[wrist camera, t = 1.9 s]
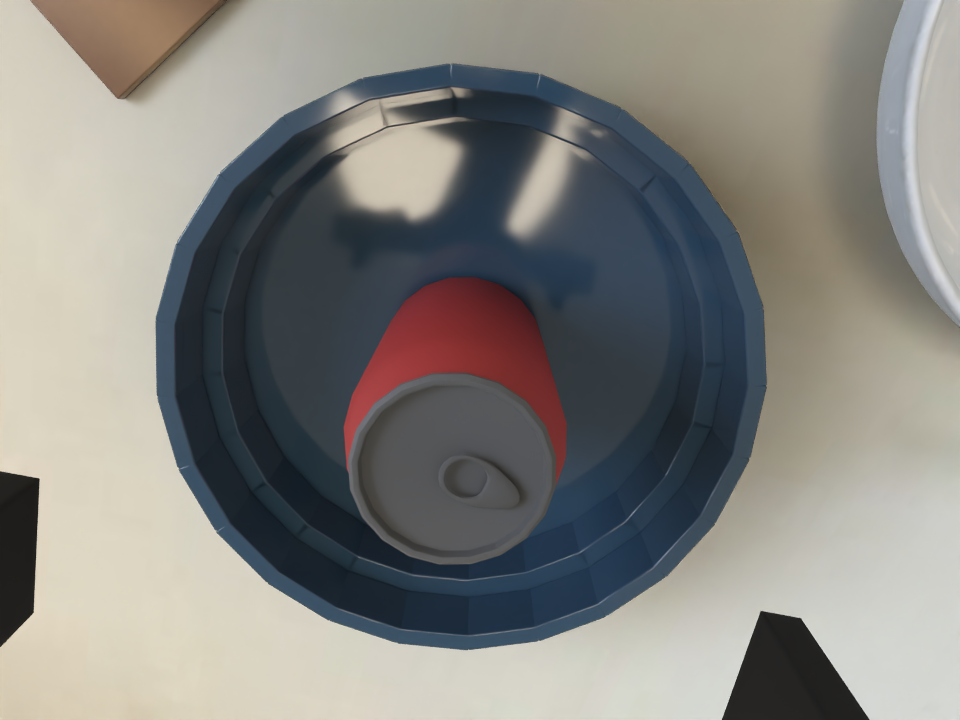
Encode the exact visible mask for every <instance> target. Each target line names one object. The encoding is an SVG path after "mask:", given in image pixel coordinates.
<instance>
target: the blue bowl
mask: <svg viewBox="0 0 960 720" xmlns="http://www.w3.org/2000/svg"><path fill="white" fill-rule="evenodd" d="M688 163H689V162H688V161H687V160H686V159H685V158H683V157H682V156H681V155H680V154H678V153H677V152H676V151H675V150H673V149H672V148H671V147H670V146H669V145H667V144H666V143H665V142H664V141H662V140H661V139H660V138H659V137H657V136H656V135H655V134H654V133H652V132H651V131H650V130H649V129H647V128H646V127H645V126H644V125H642V124H641V123H640V122H639V121H637V120H636V119H635V118H634V117H633V116H631V115H630V114H629V113H628V112H626V111H625V110H623V109H621V108H620V107H618V106H616V105H614V104H611V103H609V102H606V101H604V100H602V99H599V98H597V97H594V96H592V95H590V94H587V93H585V92H583V91H580V90H578V89H575V88H573V87H571V86H568V85H566V84H563V83H561V82H559V81H556V80H554V79H552V78H549V77H547V76H544V75H539V74H538V73H530V72H522V71H513V70H504V69H496V68H487V67H479V66H470V65H462V64H451V65H450V64H443V65H437V66H431V67H425V68H418V69H412V70H406V71H400V72H394V73H388V74H382V75H376V76H370V77H364V78H363V79H358V80H356V81H354V82H352V83H350V84H348V85H346V86H344V87H342V88H340V89H338V90H335V91H333V92H331V93H329V94H327V95H325V96H323V97H321V98H319V99H317V100H315V101H313V102H310V103H308V104H306V105H304V106H302V107H300V108H298V109H296V110H294V111H292V112H290V113H288V114H285V115H284V116H283V117H281V118H280V119H279V120H277V121H276V122H275V123H274V124H273V125H272V126H271V127H270V128H269V129H267V130H266V131H265V132H264V133H263V134H262V135H261V136H260V137H259V138H257V139H256V140H255V141H254V142H253V143H252V144H251V145H250V146H249V147H247V148H246V149H245V150H244V151H243V152H242V153H241V154H240V155H239V156H237V157H236V158H235V159H234V160H233V161H232V162H231V163H230V164H229V165H227V166H226V167H225V168H224V169H223V170H222V171H221V172H220V174H219V175H218V176H217V178H216V179H215V181H214V182H213V184H212V186H211V187H210V189H209V191H208V192H207V194H206V195H205V197H204V199H203V200H202V202H201V204H200V205H199V207H198V209H197V210H196V212H195V213H194V215H193V217H192V218H191V220H190V222H189V223H188V225H187V226H186V228H185V230H184V231H183V233H182V235H181V236H180V238H179V239H178V241H177V244H176V245H175V249H174V253H173V257H172V260H171V264H170V268H169V271H168V275H167V279H166V282H165V286H164V290H163V293H162V297H161V301H160V305H159V308H158V312H157V316H156V378H157V396H158V402H159V405H160V409H161V412H162V416H163V419H164V422H165V426H166V429H167V433H168V436H169V440H170V443H171V446H172V450H173V453H174V457H175V460H176V463H177V467H178V468H179V471H180V473H181V474H182V476H183V478H184V479H185V481H186V483H187V484H188V486H189V488H190V489H191V491H192V493H193V494H194V496H195V498H196V499H197V501H198V503H199V504H200V506H201V508H202V509H203V511H204V513H205V514H206V516H207V517H208V519H209V521H210V522H211V524H212V526H213V527H214V529H215V530H216V531H217V533H218V534H219V535H220V536H221V537H222V538H223V539H224V540H225V541H226V542H227V543H228V544H229V545H230V546H231V547H232V548H233V549H234V550H235V551H236V552H237V553H238V554H239V555H240V556H241V557H242V558H243V559H244V560H245V561H246V562H247V563H248V564H249V565H250V566H251V567H252V568H253V569H254V570H255V571H256V572H257V573H258V574H259V575H260V576H261V577H262V578H263V579H264V580H265V581H266V582H268V584H269V585H271V586H273V587H274V588H276V589H278V590H279V591H281V592H283V593H284V594H286V595H288V596H289V597H291V598H292V599H294V600H296V601H297V602H299V603H301V604H302V605H304V606H306V607H307V608H309V609H310V610H312V611H314V612H315V613H317V614H319V615H320V616H322V617H324V618H325V619H327V620H330V621H332V622H335V623H338V624H341V625H344V626H347V627H350V628H353V629H356V630H359V631H362V632H365V633H368V634H371V635H374V636H377V637H380V638H383V639H386V640H389V641H392V642H395V643H398V644H409V645H419V646H429V647H439V648H450V649H460V650H468V649H469V650H473V649H481V648H489V647H497V646H505V645H513V644H521V643H528V642H536V641H541V640H544V639H547V638H549V637H552V636H555V635H558V634H560V633H563V632H566V631H568V630H571V629H574V628H577V627H579V626H582V625H585V624H588V623H590V622H593V621H596V620H599V619H601V618H604V617H606V616H607V615H609V614H611V613H612V612H614V611H615V610H617V609H618V608H620V607H621V606H623V605H624V604H626V603H627V602H629V601H630V600H632V599H633V598H635V597H636V596H638V595H639V594H641V593H642V592H644V591H645V590H647V589H648V588H650V587H652V586H653V585H655V584H656V583H658V582H659V581H661V580H662V579H664V578H665V576H668V575H669V573H670V572H671V571H672V570H673V569H674V568H675V567H676V566H677V565H678V564H679V563H680V562H681V560H682V559H683V558H684V557H685V556H686V555H687V554H688V553H689V552H690V551H691V550H692V549H693V547H694V546H695V545H696V544H697V543H698V542H699V541H700V540H701V539H702V538H703V537H704V536H705V534H706V533H707V532H708V531H709V530H710V529H711V528H712V527H713V526H714V524H715V522H716V521H717V519H718V518H719V516H720V514H721V512H722V510H723V508H724V506H725V505H726V503H727V501H728V499H729V497H730V495H731V493H732V491H733V490H734V488H735V486H736V484H737V482H738V480H739V478H740V477H741V475H742V473H743V471H744V469H745V467H746V465H747V464H748V462H749V458H750V457H751V452H752V448H753V444H754V439H755V435H756V431H757V426H758V422H759V418H760V414H761V409H762V405H763V401H764V396H765V392H766V388H767V387H766V385H767V373H766V351H765V330H764V310H763V304H762V301H761V298H760V295H759V292H758V289H757V286H756V283H755V280H754V277H753V275H752V272H751V269H750V266H749V263H748V260H747V257H746V254H745V251H744V248H743V245H742V242H741V239H740V236H739V233H738V232H736V228H735V227H734V225H733V224H732V222H731V221H730V220H729V218H728V217H727V215H726V214H725V212H724V211H723V210H722V208H721V207H720V205H719V204H718V202H717V201H716V200H715V198H714V197H713V195H712V194H711V192H710V191H709V190H708V188H707V187H706V185H705V184H704V182H703V181H702V179H701V178H700V177H699V175H698V174H697V172H696V171H695V169H694V168H693V167H692V165H691V164H688ZM449 277H476V278H480V279H483V280H486V281H489V282H493V283H496V284H499V285H501V286H502V287H504V288H505V289H507V290H508V291H510V292H511V293H512V294H514V295H515V296H517V297H518V298H520V299H521V301H522V302H523V303H524V305H525V306H526V307H527V308H528V310H529V311H530V312H531V314H532V315H533V316H534V318H535V319H536V322H537V325H538V328H539V331H540V334H541V337H542V340H543V343H544V347H545V350H546V354H547V357H548V361H549V364H550V368H551V371H552V375H553V378H554V381H555V385H556V388H557V392H558V395H559V399H560V402H561V406H562V409H563V413H564V416H565V420H566V423H567V431H566V458H565V462H564V465H563V468H562V471H561V474H560V476H559V479H558V482H557V484H556V488H555V490H554V493H553V496H552V499H551V501H550V504H549V507H548V509H547V512H546V515H545V516H544V517H543V518H542V520H541V521H540V522H539V523H538V525H537V526H536V527H535V528H534V530H533V531H532V532H531V533H530V535H529V536H528V537H527V538H526V539H525V540H523V541H522V542H520V543H519V544H517V545H516V546H514V547H513V548H511V549H509V550H508V551H506V552H505V553H503V554H502V555H500V556H496V557H493V558H490V559H487V560H483V561H480V562H477V563H473V564H445V565H439V564H435V563H432V562H428V561H424V560H421V559H417V558H413V557H410V556H408V555H406V554H404V553H403V552H401V551H399V550H398V549H396V548H395V547H393V546H391V545H390V544H388V543H386V542H385V541H383V540H382V539H381V538H380V537H379V536H378V535H377V533H376V532H375V531H374V530H373V529H372V528H371V527H370V526H369V524H368V523H367V522H366V521H365V520H364V519H363V518H362V516H361V514H360V511H359V509H358V507H357V504H356V502H355V500H354V497H353V495H352V493H351V491H350V482H349V472H348V470H347V464H346V451H345V438H344V424H345V420H346V416H347V412H348V409H349V405H350V401H351V398H352V394H353V392H354V391H355V389H356V387H357V385H358V383H359V381H360V379H361V377H362V375H363V373H364V371H365V370H366V368H367V366H368V364H369V362H370V360H371V358H372V356H373V354H374V352H375V350H376V349H377V347H378V345H379V343H380V341H381V339H382V337H383V335H384V333H385V331H386V329H387V328H388V326H389V324H390V322H391V320H392V319H393V317H394V316H395V314H396V313H397V311H398V310H399V309H400V307H401V306H402V304H403V303H404V301H405V300H407V299H408V298H409V297H411V296H412V295H413V294H415V293H416V292H417V291H419V290H420V289H421V288H423V287H424V286H426V285H429V284H431V283H434V282H437V281H440V280H443V279H446V278H449Z"/></svg>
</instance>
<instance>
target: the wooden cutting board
mask: <svg viewBox="0 0 960 720" xmlns="http://www.w3.org/2000/svg"><path fill="white" fill-rule="evenodd" d="M30 1H31V2H32V3H33V4H34V5H35V6H36V7H37V9H38V10H39V11H40V12H41V13H42V14H43V15H44V17H45V18H46V19H47V20H48V21H49V22H50V23H51V24H52V26H53V27H54V28H55V29H56V30H57V31H58V32H59V33H60V35H61V36H62V37H63V38H64V39H65V40H66V41H67V42H68V44H69V45H70V46H71V47H72V48H73V49H74V50H75V51H76V53H77V54H78V55H79V56H80V57H81V58H82V59H83V61H84V62H85V63H86V64H87V65H88V66H89V67H90V68H91V70H92V71H93V72H94V73H95V74H96V75H97V76H98V77H99V79H100V80H101V81H102V82H103V83H104V84H105V85H106V86H107V88H108V89H109V90H110V91H111V92H112V93H113V94H114V96H115V97H116V98H117V99H124V98H125V97H126V96H127V95H129V94H130V93H131V92H132V91H133V90H134V89H135V88H136V87H137V86H138V85H139V84H140V83H141V82H142V81H143V80H144V79H145V78H146V77H147V76H148V75H149V74H150V73H151V72H153V71H154V70H155V69H156V68H157V67H158V66H159V65H160V64H161V63H162V62H163V61H164V60H165V59H166V58H167V57H168V56H169V55H170V54H171V53H172V52H173V51H174V50H176V49H177V48H178V47H179V46H180V45H181V44H182V43H183V42H184V41H185V40H186V39H187V38H188V37H189V36H190V35H191V34H192V33H193V32H194V31H195V30H196V29H197V28H198V27H200V26H201V25H202V24H203V23H204V22H205V21H206V20H207V19H208V18H209V17H210V16H211V15H212V14H213V13H214V12H215V11H216V10H217V9H218V8H219V7H220V6H221V5H223V4H224V3H225V2H226V1H227V0H30Z"/></svg>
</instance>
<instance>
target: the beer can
mask: <svg viewBox="0 0 960 720" xmlns="http://www.w3.org/2000/svg"><path fill="white" fill-rule="evenodd" d="M566 431H567V423H566V420H565V416H564V413H563V409H562V406H561V402H560V399H559V395H558V392H557V388H556V385H555V381H554V378H553V375H552V371H551V368H550V364H549V361H548V357H547V354H546V350H545V347H544V343H543V340H542V337H541V334H540V331H539V328H538V325H537V322H536V319H535V318H534V316H533V315H532V314H531V312H530V311H529V310H528V308H527V307H526V306H525V305H524V303H523V302H522V301H521V299H520V298H518V297H517V296H515V295H514V294H512V293H511V292H510V291H508V290H507V289H505V288H504V287H502V286H501V285H499V284H496V283H493V282H489V281H486V280H483V279H480V278H476V277H449V278H446V279H443V280H440V281H437V282H434V283H431V284H429V285H426V286H424V287H423V288H421V289H420V290H419V291H417V292H416V293H415V294H413V295H412V296H411V297H409V298H408V299H407V300H405V301H404V303H403V304H402V306H401V307H400V309H399V310H398V311H397V313H396V314H395V316H394V317H393V319H392V320H391V322H390V324H389V326H388V328H387V329H386V331H385V333H384V335H383V337H382V339H381V341H380V343H379V345H378V347H377V349H376V350H375V352H374V354H373V356H372V358H371V360H370V362H369V364H368V366H367V368H366V370H365V371H364V373H363V375H362V377H361V379H360V381H359V383H358V385H357V387H356V389H355V391H354V392H353V394H352V398H351V401H350V405H349V409H348V412H347V416H346V420H345V424H344V438H345V451H346V464H347V470H348V472H349V482H350V491H351V493H352V495H353V497H354V500H355V502H356V504H357V507H358V509H359V511H360V514H361V516H362V518H363V519H364V520H365V521H366V522H367V523H368V524H369V526H370V527H371V528H372V529H373V530H374V531H375V532H376V533H377V535H378V536H379V537H380V538H381V539H382V540H383V541H385V542H386V543H388V544H390V545H391V546H393V547H395V548H396V549H398V550H399V551H401V552H403V553H404V554H406V555H408V556H410V557H413V558H417V559H421V560H424V561H428V562H432V563H435V564H439V565H445V564H473V563H477V562H480V561H483V560H487V559H490V558H493V557H496V556H500V555H502V554H503V553H505V552H506V551H508V550H509V549H511V548H513V547H514V546H516V545H517V544H519V543H520V542H522V541H523V540H525V539H526V538H527V537H528V536H529V535H530V533H531V532H532V531H533V530H534V528H535V527H536V526H537V525H538V523H539V522H540V521H541V520H542V518H543V517H544V516H545V515H546V512H547V509H548V507H549V504H550V501H551V499H552V496H553V493H554V490H555V488H556V484H557V482H558V479H559V476H560V474H561V471H562V468H563V465H564V462H565V458H566Z"/></svg>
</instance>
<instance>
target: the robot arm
mask: <svg viewBox="0 0 960 720" xmlns="http://www.w3.org/2000/svg"><path fill="white" fill-rule="evenodd" d="M38 500H39V478H33V477H28V476H22V475H17V474H11V473H6V472H1V471H0V647H1V646H2V645H3V644H4V643H5V642H6V641H7V640H8V639H9V638H10V637H11V636H12V635H13V633H14V632H15V631H16V630H17V629H18V628H19V627H20V626H21V625H22V624H23V623H24V622H25V621H26V620H27V619H28V618H29V617H30V616H31V615H32V614H33V613H34V590H35V568H36V545H37V523H38ZM722 720H869V718H868V717H867V715H866V714H865V712H864V711H863V709H862V708H861V707H860V705H859V704H858V702H857V701H856V699H855V698H854V696H853V695H852V693H851V692H850V690H849V689H848V687H847V686H846V684H845V683H844V681H843V680H842V678H841V677H840V676H839V674H838V673H837V671H836V670H835V668H834V667H833V665H832V664H831V662H830V661H829V659H828V658H827V656H826V655H825V653H824V652H823V650H822V649H821V647H820V646H819V645H818V643H817V642H816V640H815V639H814V637H813V636H812V634H811V633H810V631H809V630H808V628H807V627H806V625H805V624H804V622H803V621H802V619H801V618H796V617H791V616H785V615H780V614H774V613H769V612H764V611H761V612H760V615H759V618H758V620H757V623H756V626H755V629H754V632H753V634H752V637H751V640H750V643H749V646H748V648H747V651H746V654H745V657H744V660H743V662H742V665H741V668H740V671H739V674H738V676H737V679H736V682H735V685H734V688H733V690H732V693H731V696H730V699H729V702H728V704H727V707H726V710H725V713H724V716H723V718H722Z"/></svg>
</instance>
